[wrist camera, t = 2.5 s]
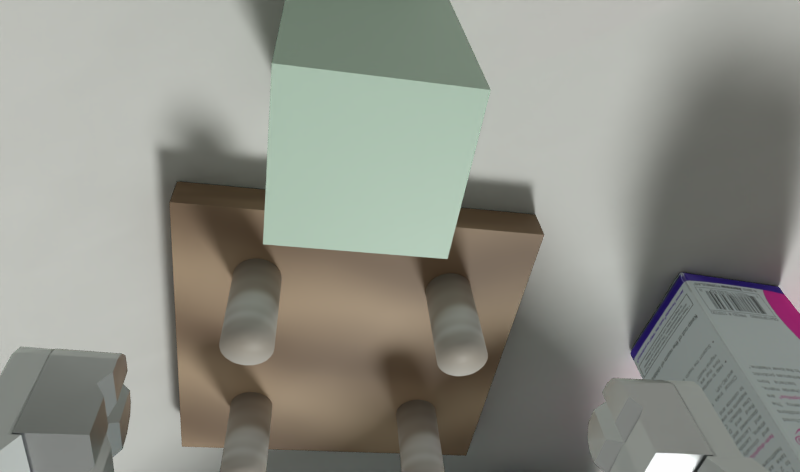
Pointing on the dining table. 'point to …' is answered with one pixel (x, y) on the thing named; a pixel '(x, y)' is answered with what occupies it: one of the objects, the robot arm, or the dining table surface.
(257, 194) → the peg board
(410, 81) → the sage block
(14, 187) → the dining table surface
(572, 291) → the dining table surface
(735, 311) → the supplement box
